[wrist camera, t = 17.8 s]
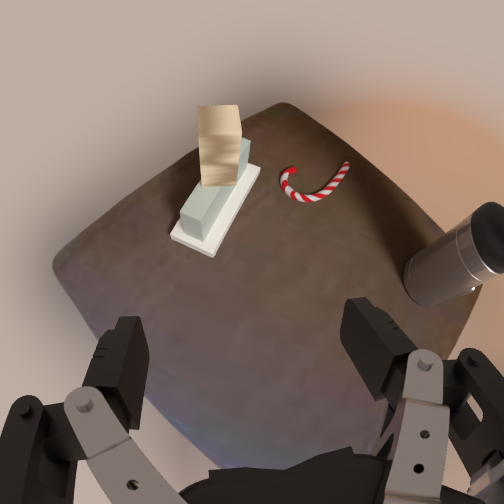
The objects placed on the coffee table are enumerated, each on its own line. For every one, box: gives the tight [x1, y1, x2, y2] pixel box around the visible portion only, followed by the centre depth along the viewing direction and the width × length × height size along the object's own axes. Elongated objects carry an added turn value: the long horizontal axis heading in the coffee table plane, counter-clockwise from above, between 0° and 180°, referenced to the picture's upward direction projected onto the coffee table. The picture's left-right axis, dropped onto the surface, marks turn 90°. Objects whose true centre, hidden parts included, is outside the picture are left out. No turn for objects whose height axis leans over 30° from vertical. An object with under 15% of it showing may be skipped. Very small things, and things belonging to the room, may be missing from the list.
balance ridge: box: [170, 138, 260, 258], centre depth 42 cm, size 7×17×8 cm, turn 156°
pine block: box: [198, 105, 242, 188], centre depth 34 cm, size 4×4×10 cm
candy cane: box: [280, 162, 350, 202], centre depth 50 cm, size 8×1×15 cm
